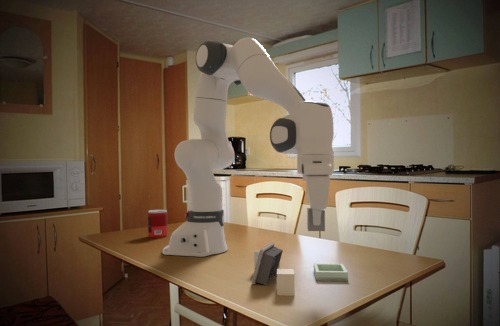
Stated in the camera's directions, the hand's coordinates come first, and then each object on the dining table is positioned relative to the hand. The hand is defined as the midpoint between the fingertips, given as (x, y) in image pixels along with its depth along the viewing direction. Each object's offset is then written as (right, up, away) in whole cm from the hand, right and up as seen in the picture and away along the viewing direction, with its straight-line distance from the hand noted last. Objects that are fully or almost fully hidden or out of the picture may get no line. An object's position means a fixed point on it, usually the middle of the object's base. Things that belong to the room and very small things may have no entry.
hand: (315, 222), depth 92 cm
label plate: (-11, -16, +12) cm, 23 cm away
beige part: (-8, -16, -4) cm, 18 cm away
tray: (+5, -16, +8) cm, 18 cm away
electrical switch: (-12, -16, +6) cm, 21 cm away
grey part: (0, -2, 0) cm, 2 cm away
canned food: (-55, -17, +66) cm, 87 cm away
